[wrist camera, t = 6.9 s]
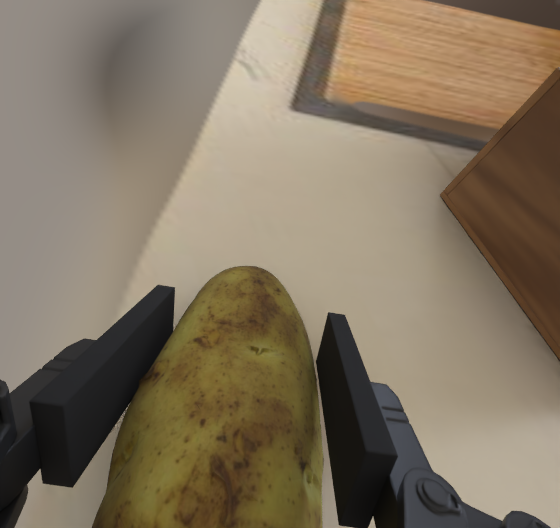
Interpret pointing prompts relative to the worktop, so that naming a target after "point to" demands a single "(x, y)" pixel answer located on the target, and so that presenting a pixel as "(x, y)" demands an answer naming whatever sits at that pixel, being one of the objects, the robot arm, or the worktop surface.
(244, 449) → the potato
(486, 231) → the wooden box
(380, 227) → the worktop surface
